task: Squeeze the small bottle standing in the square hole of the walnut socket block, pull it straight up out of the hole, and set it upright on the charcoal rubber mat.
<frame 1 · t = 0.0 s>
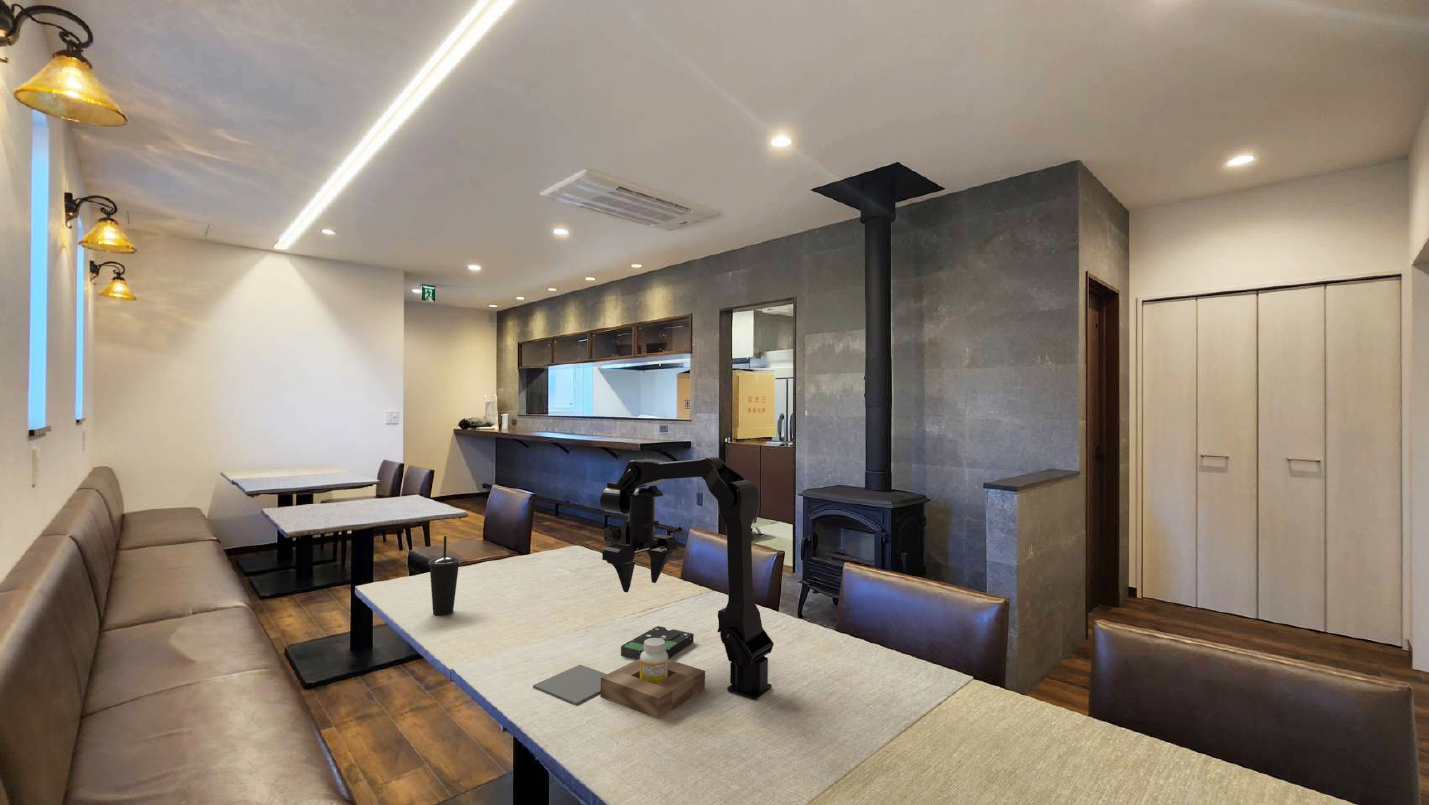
hand: (640, 587, 130), 15 cm above the table, tool pointing down, fingers open, 9 cm apart
rubber mat: (578, 684, 115), on the table
drinking cup: (443, 613, 155), on the table
disk drive: (658, 652, 133), on the table
socket block: (653, 692, 112), on the table
supplement bottle: (653, 694, 112), resting in socket block
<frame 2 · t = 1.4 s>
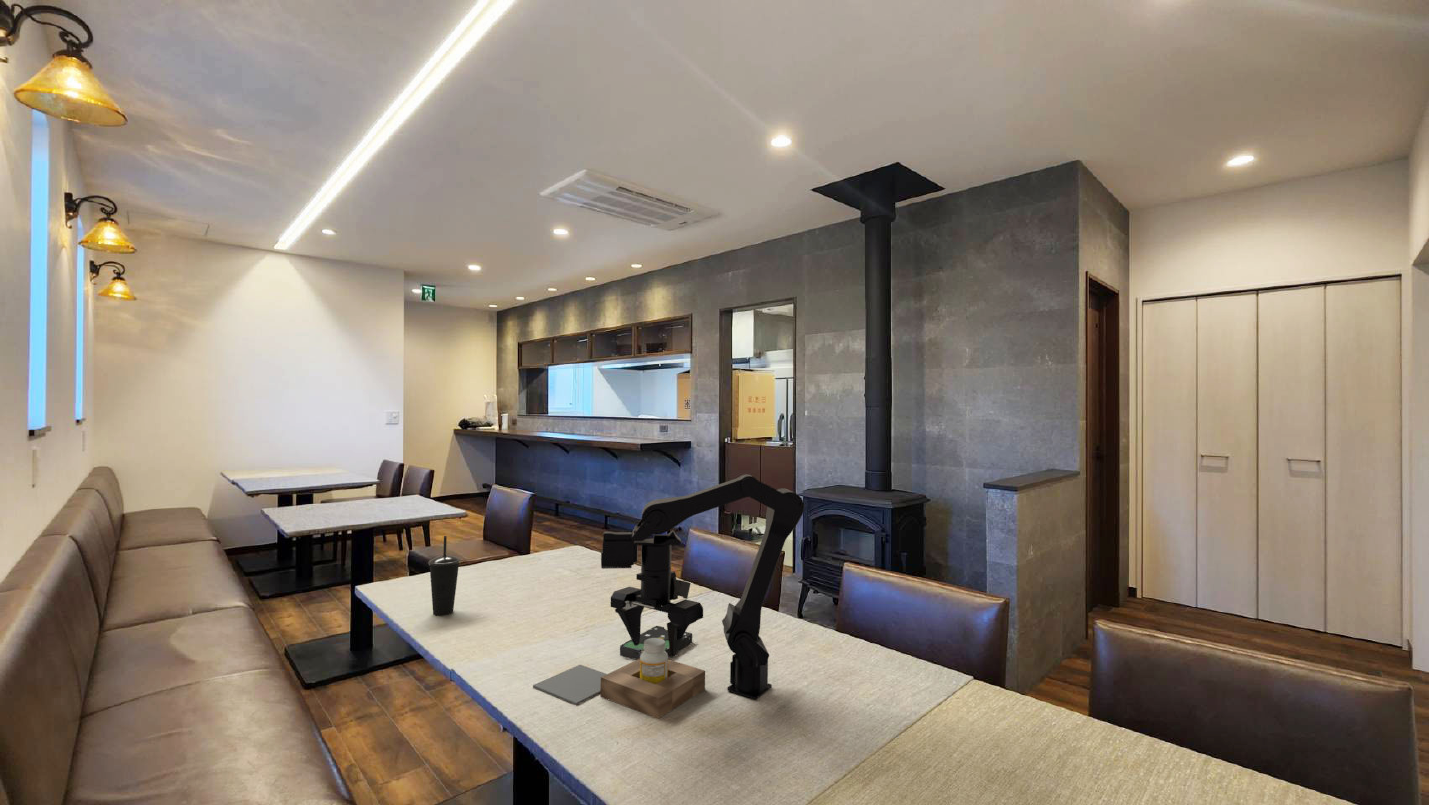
hand: (654, 650, 112), 8 cm above the table, tool pointing down, fingers open, 9 cm apart
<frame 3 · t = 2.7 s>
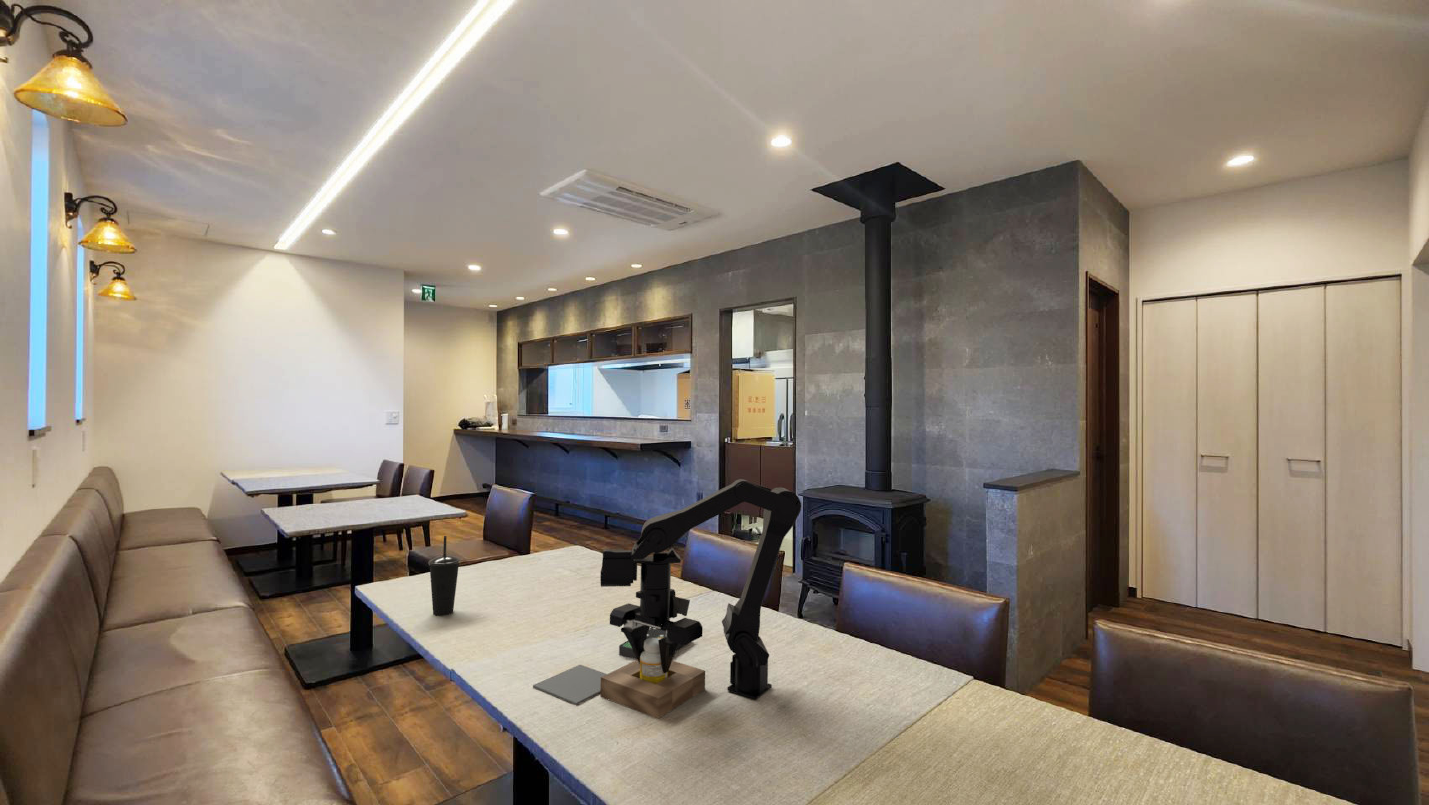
hand: (653, 668, 112), 5 cm above the table, tool pointing down, fingers closed on supplement bottle, 5 cm apart
supplement bottle: (653, 693, 112), resting in socket block, touching gripper
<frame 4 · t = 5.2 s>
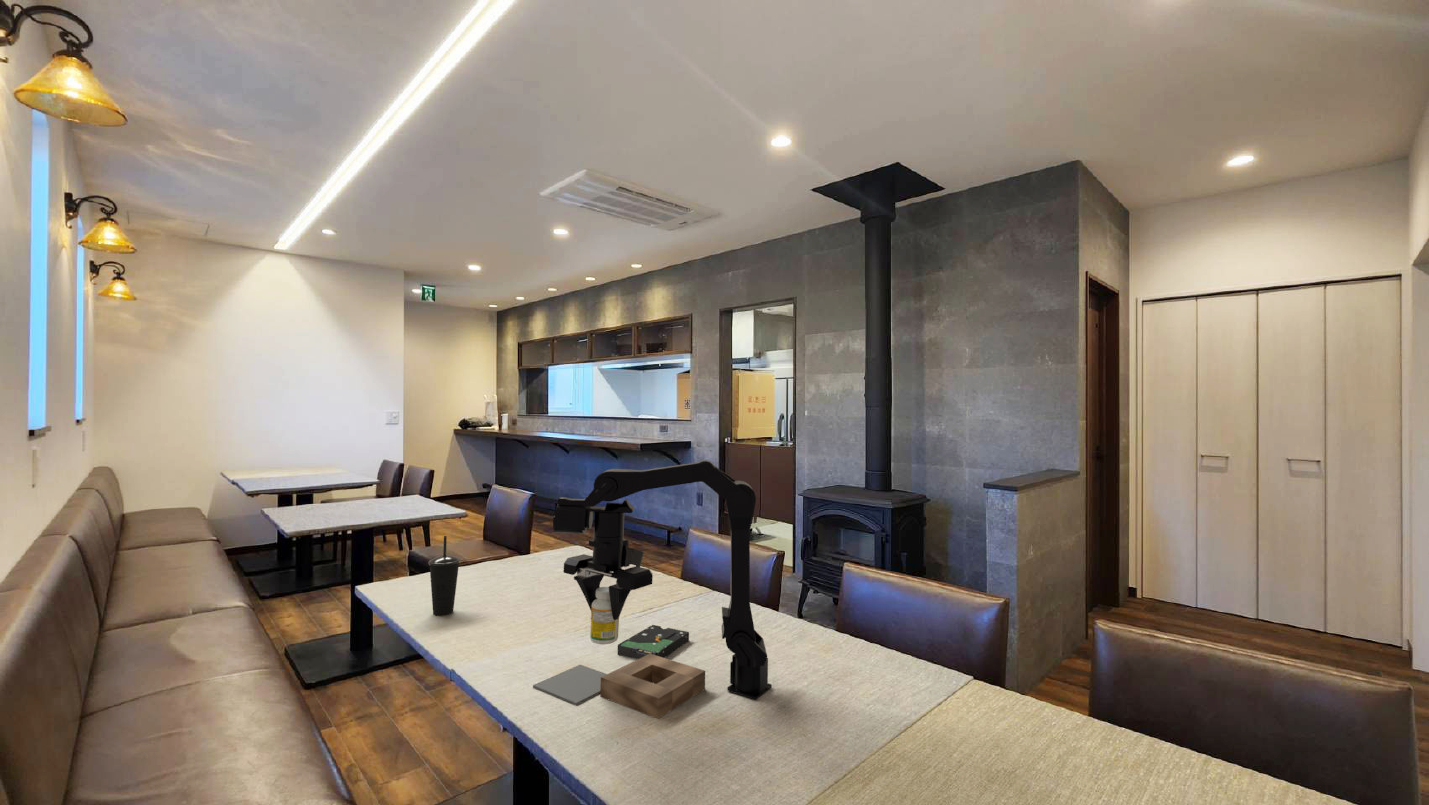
hand: (605, 616, 114), 14 cm above the table, tool pointing down, fingers closed on supplement bottle, 5 cm apart
supplement bottle: (604, 640, 114), point 9 cm above the table, touching gripper
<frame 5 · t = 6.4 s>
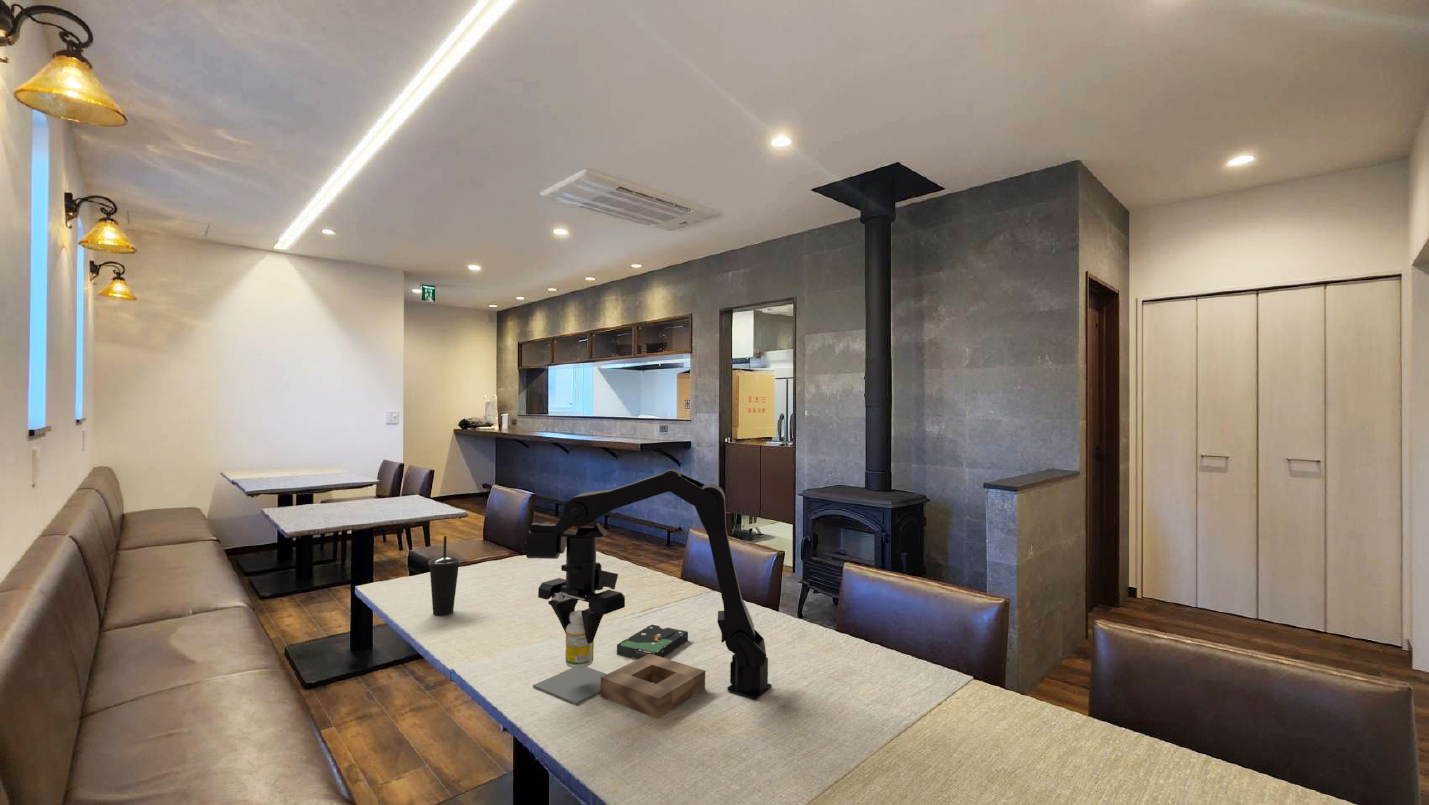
hand: (579, 639, 115), 9 cm above the table, tool pointing down, fingers closed on supplement bottle, 5 cm apart
supplement bottle: (579, 664, 115), point 4 cm above the table, touching gripper
when the fingers open (6 cm above the table, at t = 7.7 s): supplement bottle stays where it is, resting on rubber mat.
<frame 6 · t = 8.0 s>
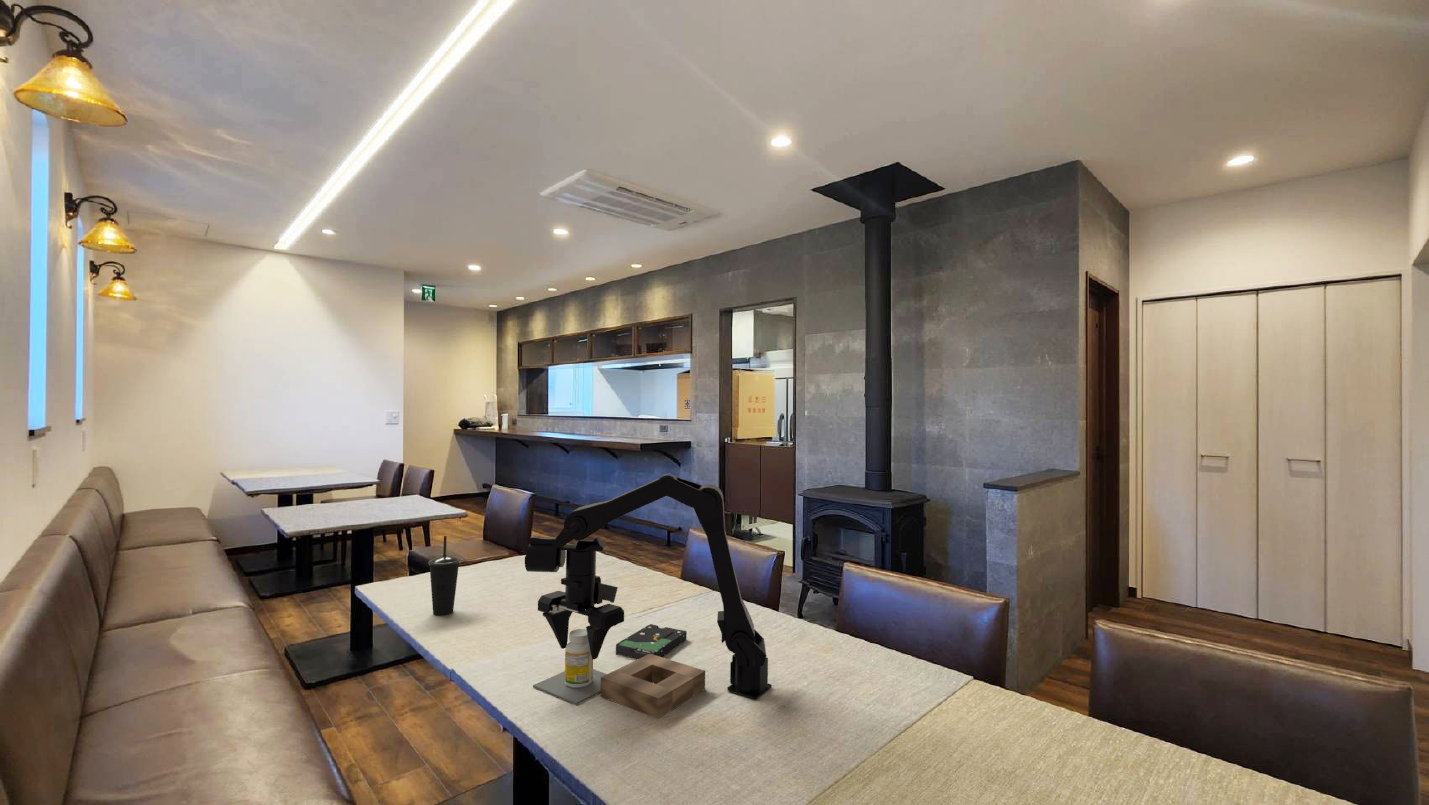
hand: (579, 653, 115), 6 cm above the table, tool pointing down, fingers open, 8 cm apart
supplement bottle: (578, 683, 115), resting on rubber mat
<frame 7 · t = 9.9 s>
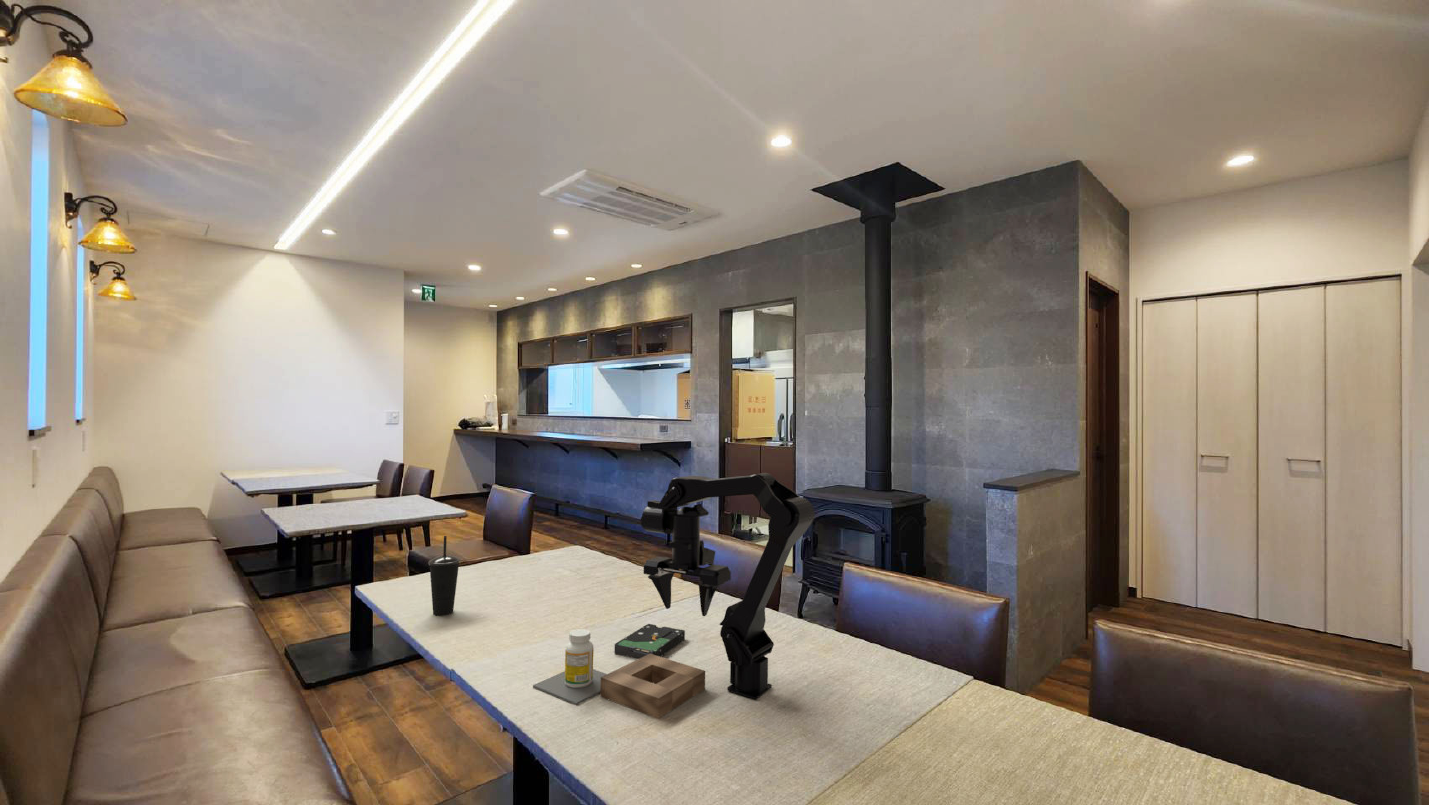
hand: (686, 612, 123), 12 cm above the table, tool pointing down, fingers open, 9 cm apart
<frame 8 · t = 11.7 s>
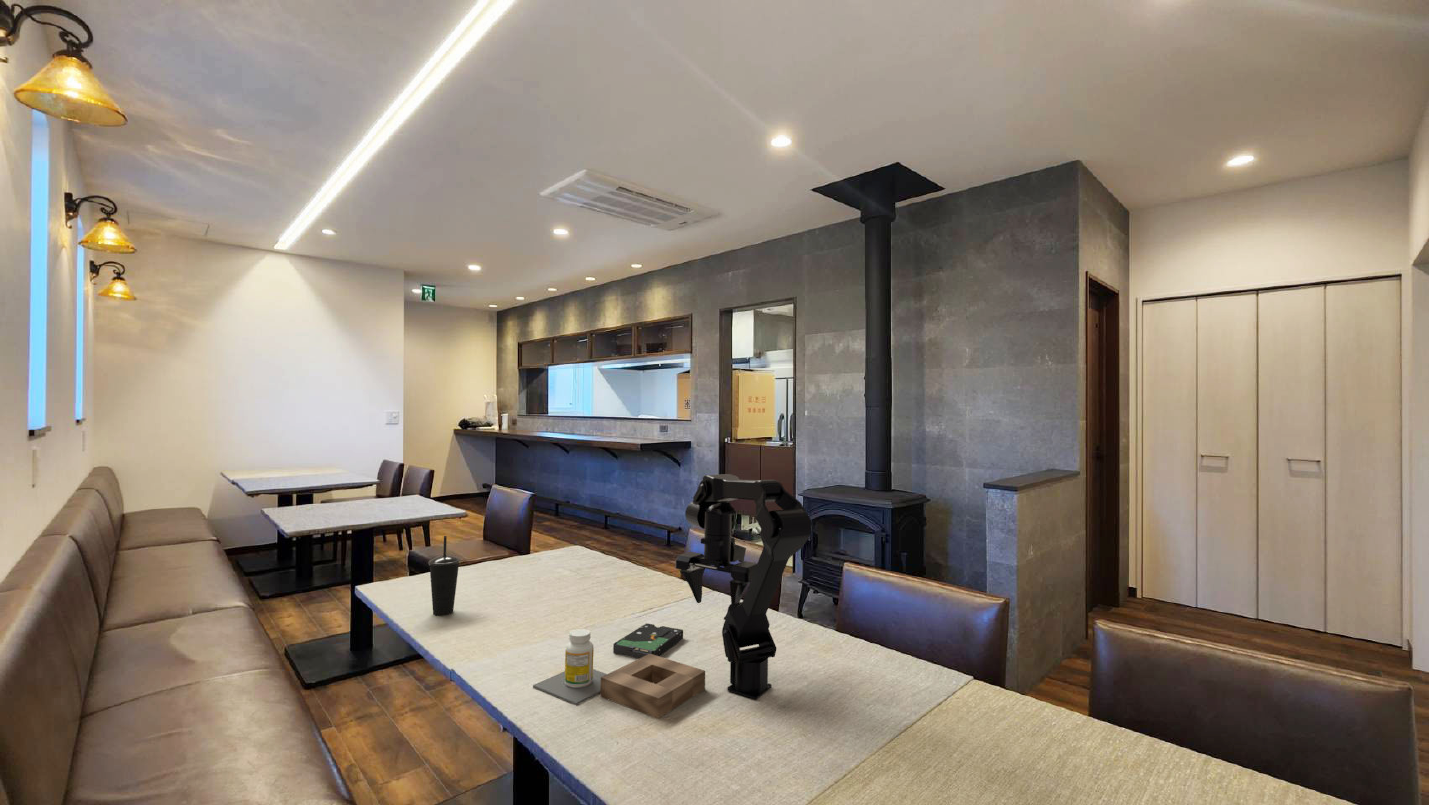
hand: (716, 606, 126), 12 cm above the table, tool pointing down, fingers open, 9 cm apart
at the end: supplement bottle inside the target area on the rubber mat (0.1 cm from its centre), point 0.2 cm above the rubber mat's base; supplement bottle tilted 0°; the gripper is holding nothing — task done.
